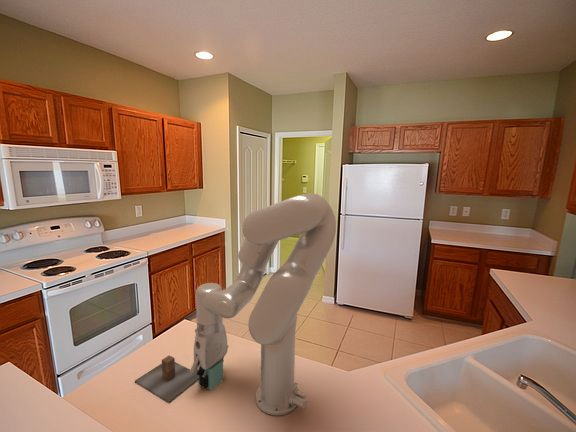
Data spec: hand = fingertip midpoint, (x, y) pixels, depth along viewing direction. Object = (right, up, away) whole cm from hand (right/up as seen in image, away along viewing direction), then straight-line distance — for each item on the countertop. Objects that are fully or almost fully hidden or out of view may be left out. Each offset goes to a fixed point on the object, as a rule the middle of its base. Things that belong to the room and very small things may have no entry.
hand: (211, 379), depth 84 cm
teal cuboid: (0, -1, 0) cm, 1 cm away
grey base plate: (-13, 0, +1) cm, 13 cm away
